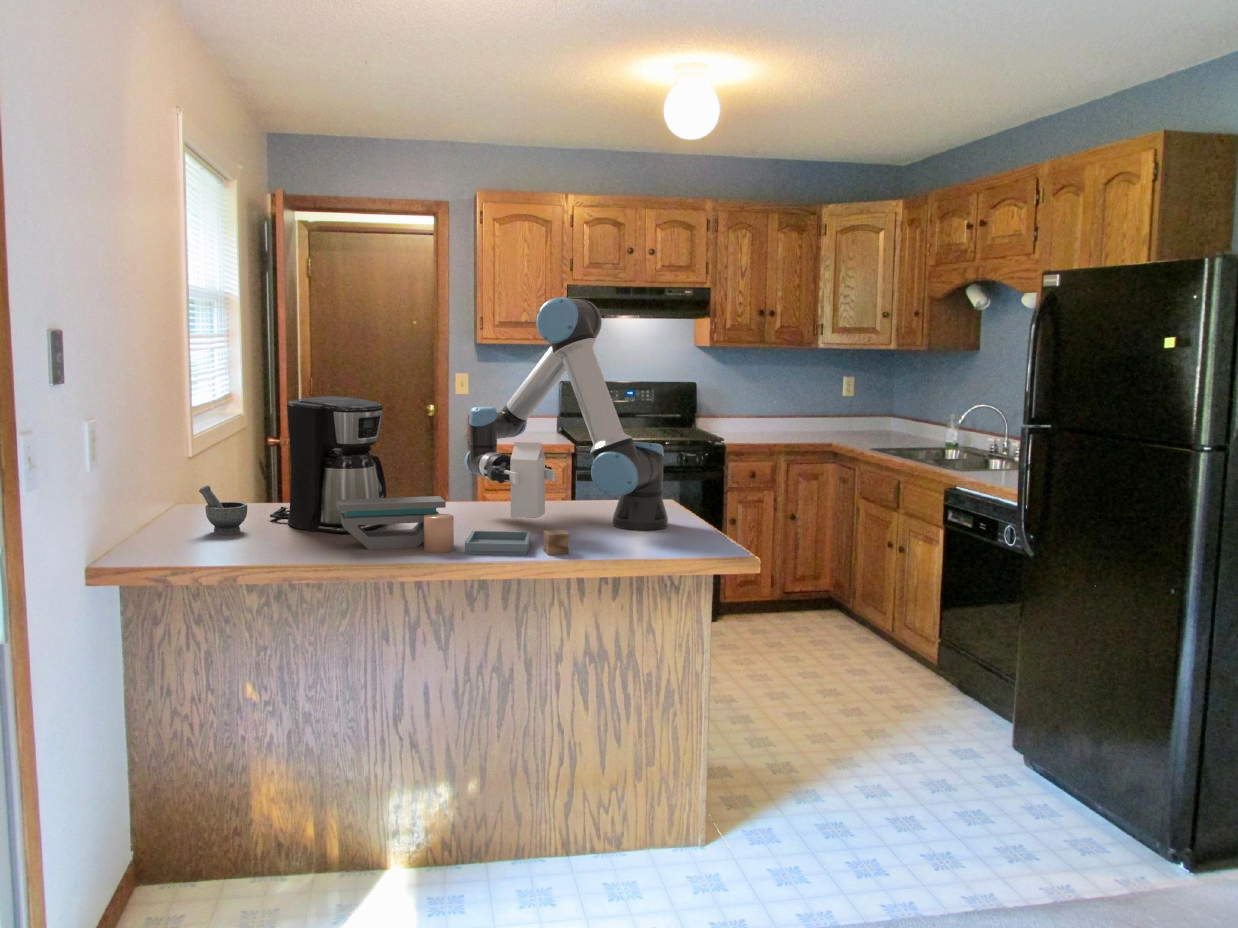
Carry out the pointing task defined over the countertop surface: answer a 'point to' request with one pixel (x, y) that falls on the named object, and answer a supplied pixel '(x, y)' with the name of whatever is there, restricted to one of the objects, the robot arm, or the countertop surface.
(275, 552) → the countertop surface
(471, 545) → the tray
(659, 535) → the countertop surface
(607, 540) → the countertop surface
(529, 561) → the countertop surface
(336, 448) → the coffee maker
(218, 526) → the mortar and pestle
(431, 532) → the peach round cylinder
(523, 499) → the milk carton
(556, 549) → the walnut block
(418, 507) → the sharpening stone
